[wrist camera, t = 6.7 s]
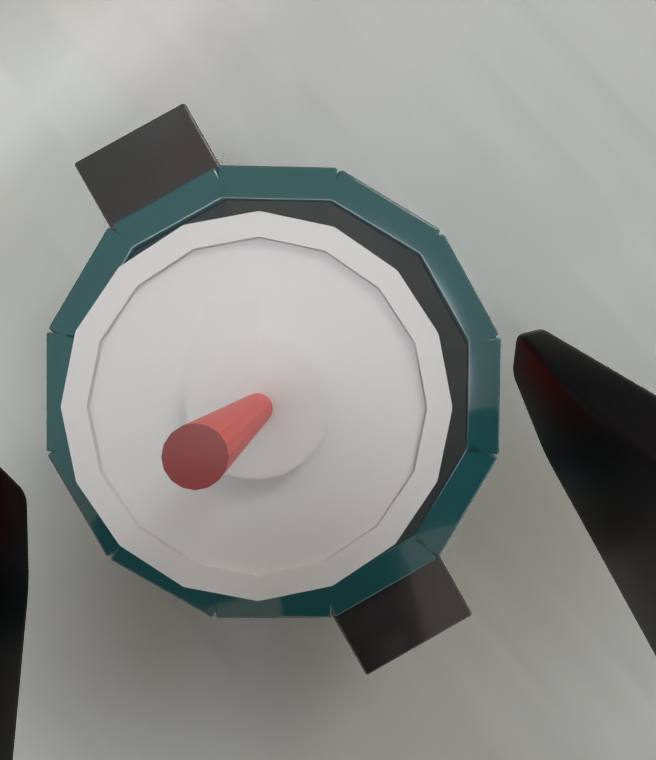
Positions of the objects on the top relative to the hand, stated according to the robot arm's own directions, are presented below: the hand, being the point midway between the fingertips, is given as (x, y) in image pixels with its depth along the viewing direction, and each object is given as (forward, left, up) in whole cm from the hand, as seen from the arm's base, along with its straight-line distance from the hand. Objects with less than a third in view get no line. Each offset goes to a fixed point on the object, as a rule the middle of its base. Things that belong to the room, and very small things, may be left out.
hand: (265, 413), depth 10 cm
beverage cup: (0, 0, -8) cm, 8 cm away
